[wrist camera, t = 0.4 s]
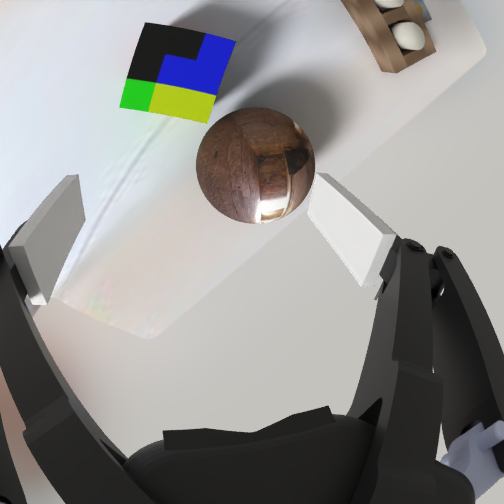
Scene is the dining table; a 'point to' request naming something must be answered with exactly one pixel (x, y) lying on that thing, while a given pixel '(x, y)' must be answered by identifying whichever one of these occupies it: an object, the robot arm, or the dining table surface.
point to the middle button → (388, 3)
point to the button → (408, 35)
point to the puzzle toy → (176, 72)
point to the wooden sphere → (255, 165)
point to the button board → (380, 35)
